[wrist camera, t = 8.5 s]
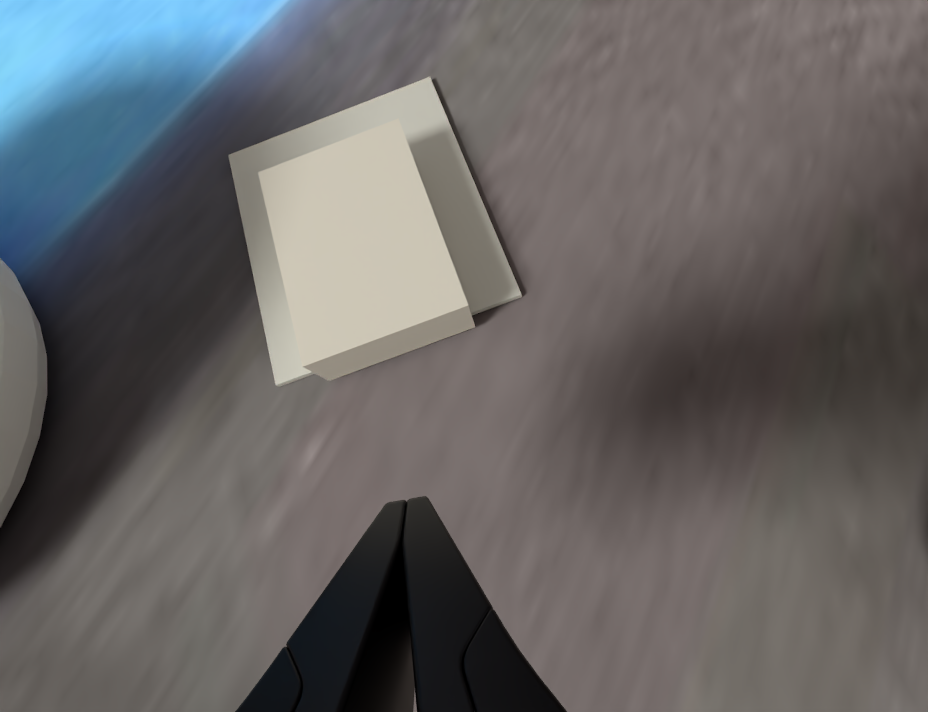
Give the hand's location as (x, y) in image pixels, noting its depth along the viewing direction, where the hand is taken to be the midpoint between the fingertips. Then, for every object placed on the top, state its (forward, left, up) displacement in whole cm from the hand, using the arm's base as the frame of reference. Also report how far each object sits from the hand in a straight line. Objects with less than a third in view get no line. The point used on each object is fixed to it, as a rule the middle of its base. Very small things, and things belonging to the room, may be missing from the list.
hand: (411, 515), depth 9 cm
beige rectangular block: (+5, +5, -8) cm, 10 cm away
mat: (+11, +10, -10) cm, 18 cm away
